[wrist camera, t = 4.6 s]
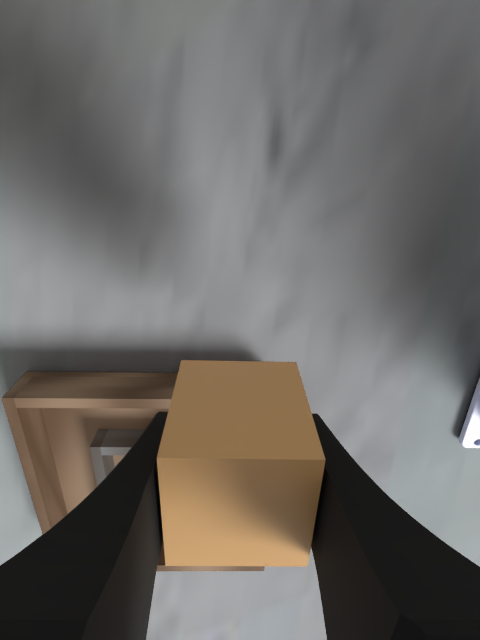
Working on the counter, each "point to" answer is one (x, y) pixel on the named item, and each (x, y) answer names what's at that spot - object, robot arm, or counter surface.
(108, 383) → the box
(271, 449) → the plug
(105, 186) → the counter surface
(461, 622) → the robot arm
